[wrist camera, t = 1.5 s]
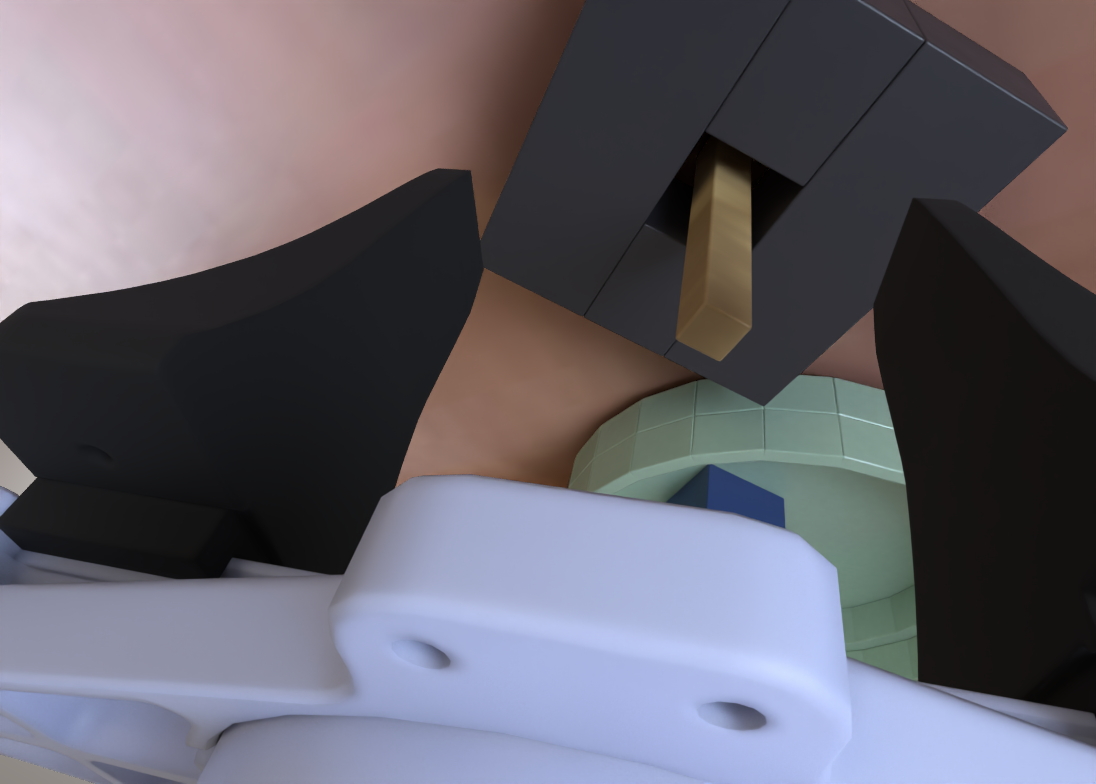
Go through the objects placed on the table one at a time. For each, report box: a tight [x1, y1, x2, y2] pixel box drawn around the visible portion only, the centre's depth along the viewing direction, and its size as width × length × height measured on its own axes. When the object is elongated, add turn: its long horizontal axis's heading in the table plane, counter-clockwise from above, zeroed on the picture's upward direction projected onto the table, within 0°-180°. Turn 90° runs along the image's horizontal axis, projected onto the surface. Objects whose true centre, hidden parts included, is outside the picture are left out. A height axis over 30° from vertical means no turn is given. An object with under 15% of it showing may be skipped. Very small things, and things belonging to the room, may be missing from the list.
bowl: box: [567, 375, 918, 681], centre depth 31 cm, size 19×19×4 cm
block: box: [666, 464, 785, 528], centre depth 30 cm, size 4×4×4 cm
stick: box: [675, 135, 752, 361], centre depth 17 cm, size 1×1×9 cm
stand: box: [480, 0, 1068, 406], centre depth 19 cm, size 11×11×4 cm
